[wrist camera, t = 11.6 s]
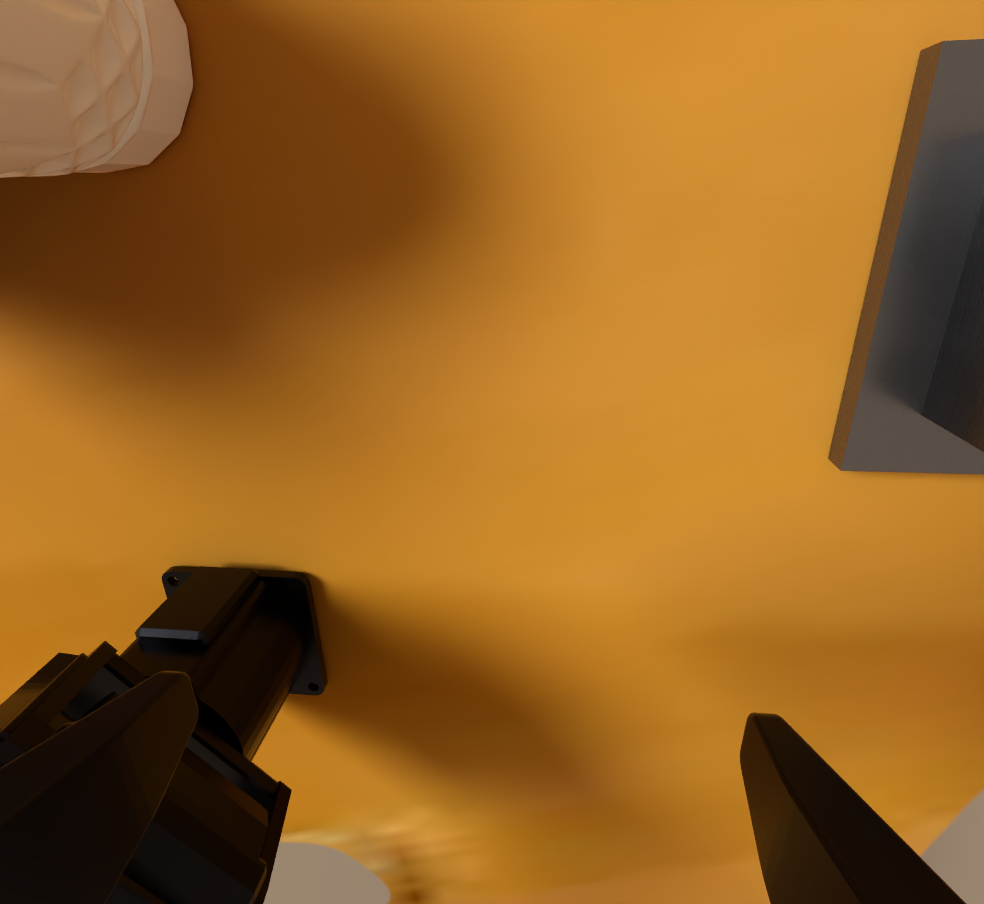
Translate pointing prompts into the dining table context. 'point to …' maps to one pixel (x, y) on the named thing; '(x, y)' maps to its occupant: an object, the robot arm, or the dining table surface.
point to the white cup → (90, 84)
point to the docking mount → (925, 288)
